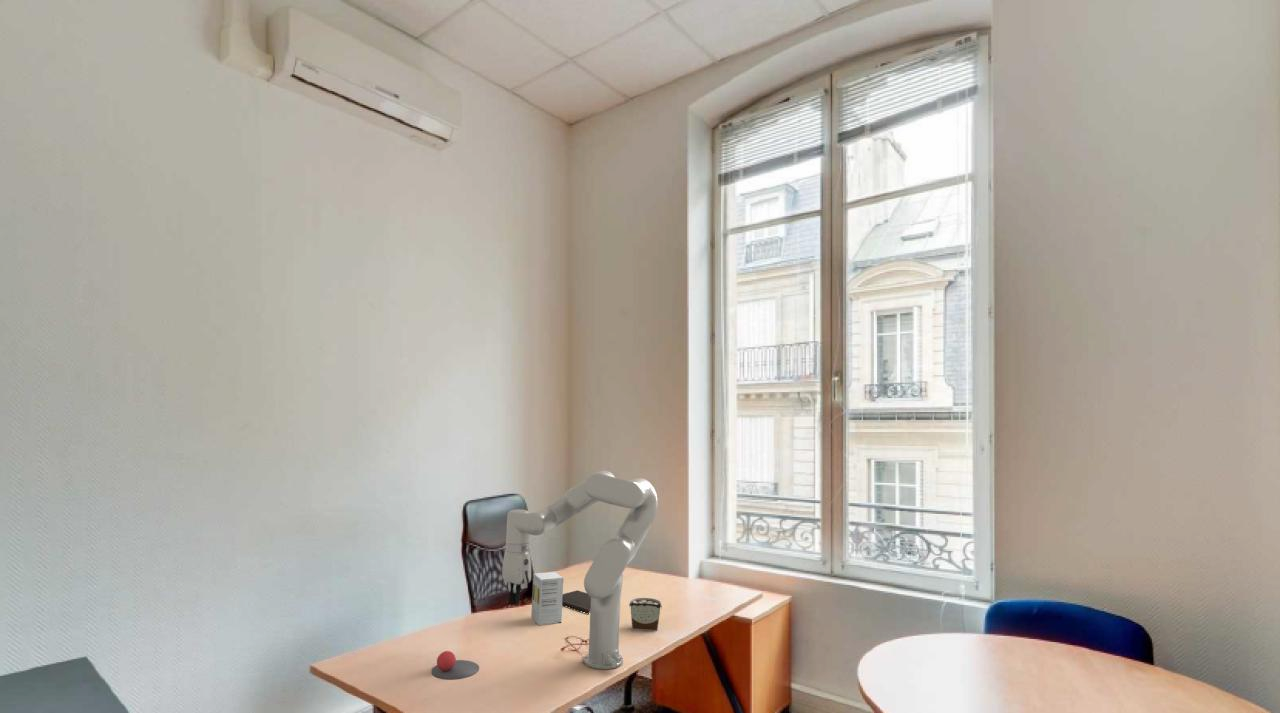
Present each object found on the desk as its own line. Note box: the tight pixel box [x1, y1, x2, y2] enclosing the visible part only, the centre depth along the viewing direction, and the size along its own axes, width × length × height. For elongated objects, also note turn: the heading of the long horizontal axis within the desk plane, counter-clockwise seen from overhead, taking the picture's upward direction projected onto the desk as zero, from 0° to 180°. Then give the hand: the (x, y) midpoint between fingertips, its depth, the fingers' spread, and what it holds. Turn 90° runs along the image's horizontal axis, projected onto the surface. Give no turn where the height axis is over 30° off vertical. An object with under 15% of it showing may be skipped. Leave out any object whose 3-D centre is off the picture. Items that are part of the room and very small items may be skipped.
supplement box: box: [530, 571, 564, 626], centre depth 244 cm, size 10×9×17 cm
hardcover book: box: [562, 590, 591, 615], centre depth 266 cm, size 16×23×2 cm
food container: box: [628, 597, 663, 632], centre depth 240 cm, size 12×6×10 cm, turn 84°
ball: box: [436, 650, 457, 671], centre depth 195 cm, size 6×6×6 cm
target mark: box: [431, 659, 480, 680], centre depth 196 cm, size 14×14×1 cm
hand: (514, 603), depth 214 cm, fingers closed
